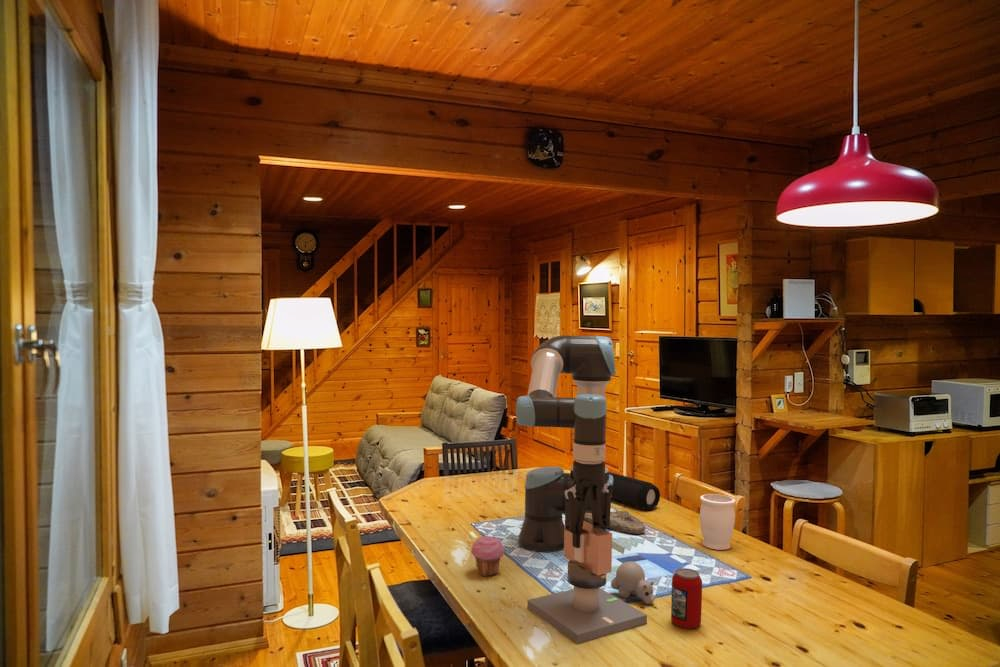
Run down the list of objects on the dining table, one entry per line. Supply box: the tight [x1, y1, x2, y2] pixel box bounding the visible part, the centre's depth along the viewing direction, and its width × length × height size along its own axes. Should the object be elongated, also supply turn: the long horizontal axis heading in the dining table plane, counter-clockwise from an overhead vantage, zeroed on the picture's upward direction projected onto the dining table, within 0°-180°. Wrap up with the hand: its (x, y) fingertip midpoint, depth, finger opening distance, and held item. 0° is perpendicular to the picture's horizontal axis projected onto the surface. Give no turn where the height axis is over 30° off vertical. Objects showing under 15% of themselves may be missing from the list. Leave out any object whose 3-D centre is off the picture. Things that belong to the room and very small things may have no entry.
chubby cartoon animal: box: [610, 560, 656, 605], centre depth 170 cm, size 7×12×8 cm, turn 38°
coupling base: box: [527, 586, 648, 644], centre depth 160 cm, size 20×20×8 cm
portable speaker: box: [609, 471, 661, 511], centre depth 256 cm, size 26×10×10 cm, turn 39°
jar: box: [699, 493, 736, 551], centre depth 210 cm, size 11×10×15 cm
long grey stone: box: [562, 510, 647, 535], centre depth 233 cm, size 35×5×10 cm
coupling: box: [563, 521, 613, 589], centre depth 160 cm, size 13×9×13 cm
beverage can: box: [670, 567, 703, 629], centre depth 157 cm, size 7×7×12 cm
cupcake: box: [471, 535, 505, 577], centre depth 185 cm, size 9×9×10 cm
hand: (587, 558), depth 160 cm, fingers closed on coupling, 4 cm apart
